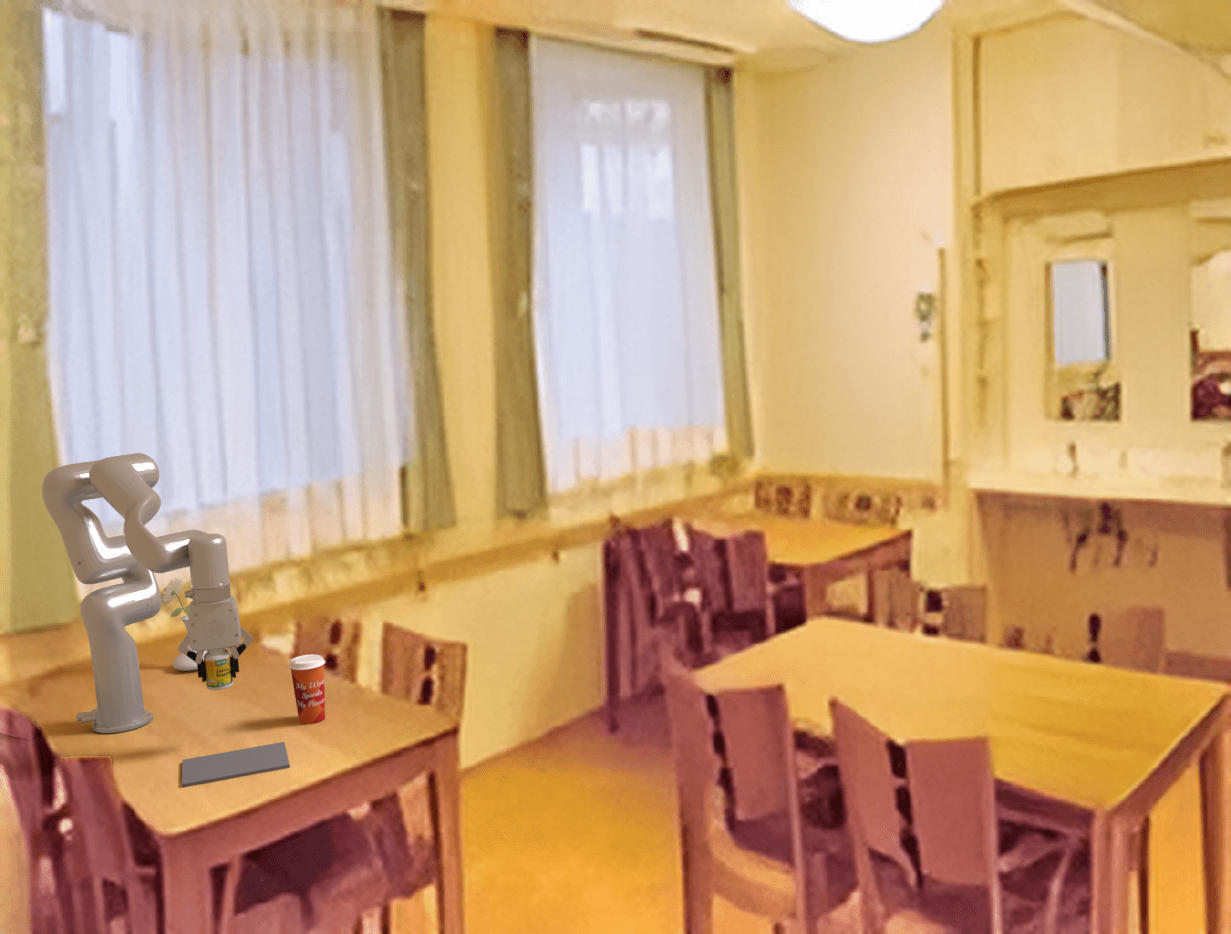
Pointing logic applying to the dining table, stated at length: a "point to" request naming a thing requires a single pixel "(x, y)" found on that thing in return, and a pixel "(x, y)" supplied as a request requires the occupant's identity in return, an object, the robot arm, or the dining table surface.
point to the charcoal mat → (234, 764)
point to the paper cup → (309, 687)
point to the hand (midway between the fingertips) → (219, 677)
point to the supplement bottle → (218, 669)
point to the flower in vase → (169, 594)
